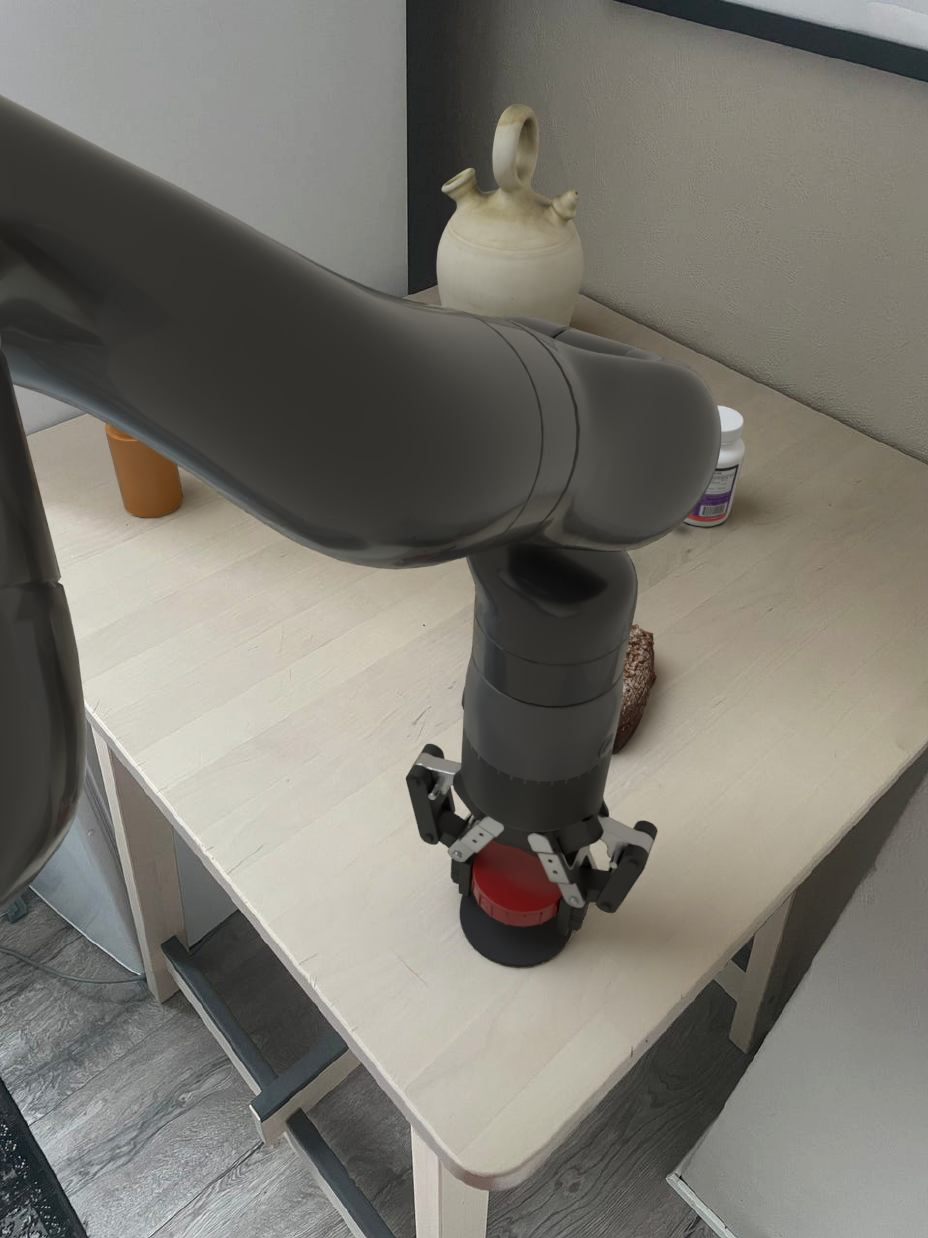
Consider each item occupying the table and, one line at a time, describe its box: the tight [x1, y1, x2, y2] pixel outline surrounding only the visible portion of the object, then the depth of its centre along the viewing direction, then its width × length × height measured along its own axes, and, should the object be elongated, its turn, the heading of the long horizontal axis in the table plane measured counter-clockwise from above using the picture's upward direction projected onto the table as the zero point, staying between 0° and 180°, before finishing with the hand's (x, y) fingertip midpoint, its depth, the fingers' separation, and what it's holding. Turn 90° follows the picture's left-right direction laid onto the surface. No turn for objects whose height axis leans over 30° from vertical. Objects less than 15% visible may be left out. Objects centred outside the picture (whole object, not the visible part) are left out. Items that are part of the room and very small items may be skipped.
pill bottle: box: [683, 405, 746, 528], centre depth 90 cm, size 5×5×10 cm
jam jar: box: [104, 423, 184, 519], centre depth 88 cm, size 5×5×9 cm
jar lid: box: [472, 839, 562, 927], centre depth 60 cm, size 6×6×2 cm
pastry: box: [612, 623, 658, 755], centre depth 74 cm, size 11×12×6 cm
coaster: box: [459, 892, 574, 969], centre depth 62 cm, size 7×7×1 cm
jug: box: [436, 103, 585, 327], centre depth 105 cm, size 15×16×25 cm
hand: (517, 901), depth 62 cm, fingers closed on jar lid, 5 cm apart
